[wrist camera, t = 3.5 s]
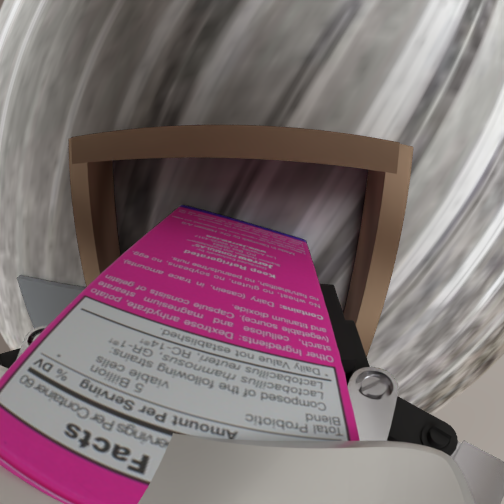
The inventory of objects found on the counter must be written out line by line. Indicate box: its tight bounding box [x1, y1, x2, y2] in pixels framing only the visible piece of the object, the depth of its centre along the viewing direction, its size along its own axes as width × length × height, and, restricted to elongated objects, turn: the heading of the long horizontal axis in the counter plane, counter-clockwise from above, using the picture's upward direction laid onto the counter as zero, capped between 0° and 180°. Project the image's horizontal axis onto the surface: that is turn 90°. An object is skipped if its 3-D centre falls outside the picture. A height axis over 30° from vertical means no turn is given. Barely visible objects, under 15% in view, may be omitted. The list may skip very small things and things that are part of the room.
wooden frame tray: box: [69, 125, 413, 357], centre depth 13 cm, size 19×13×3 cm
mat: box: [17, 275, 86, 329], centre depth 16 cm, size 8×8×1 cm
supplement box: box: [0, 205, 360, 504], centre depth 8 cm, size 6×6×12 cm
